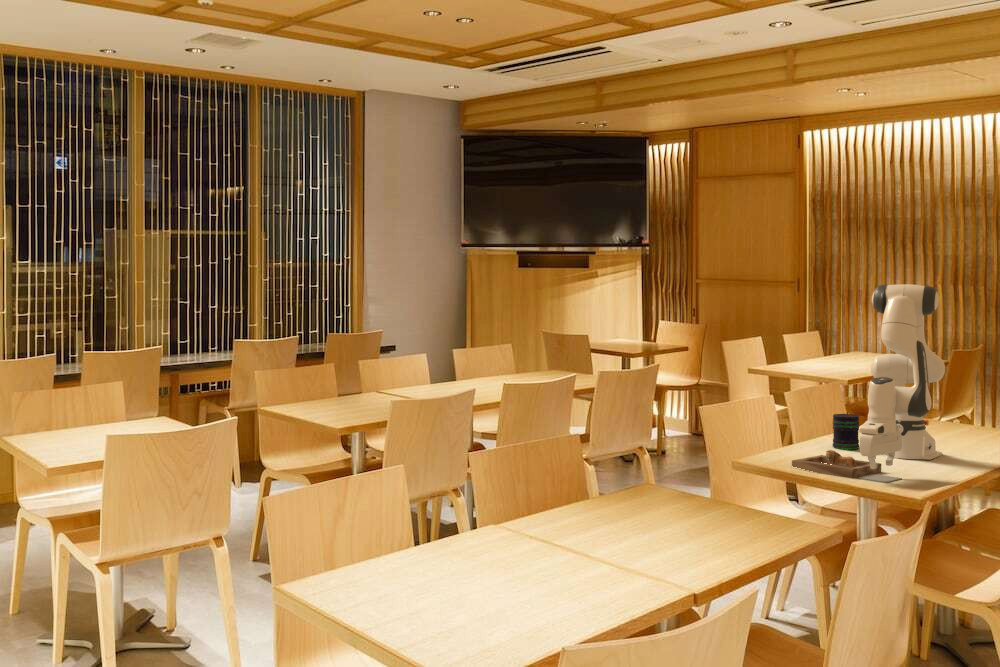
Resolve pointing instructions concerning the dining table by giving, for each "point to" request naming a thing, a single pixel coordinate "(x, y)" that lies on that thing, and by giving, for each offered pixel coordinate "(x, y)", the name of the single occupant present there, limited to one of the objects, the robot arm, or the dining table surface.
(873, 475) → the rubber mat
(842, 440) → the storage jar
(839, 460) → the lion figurine
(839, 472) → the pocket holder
